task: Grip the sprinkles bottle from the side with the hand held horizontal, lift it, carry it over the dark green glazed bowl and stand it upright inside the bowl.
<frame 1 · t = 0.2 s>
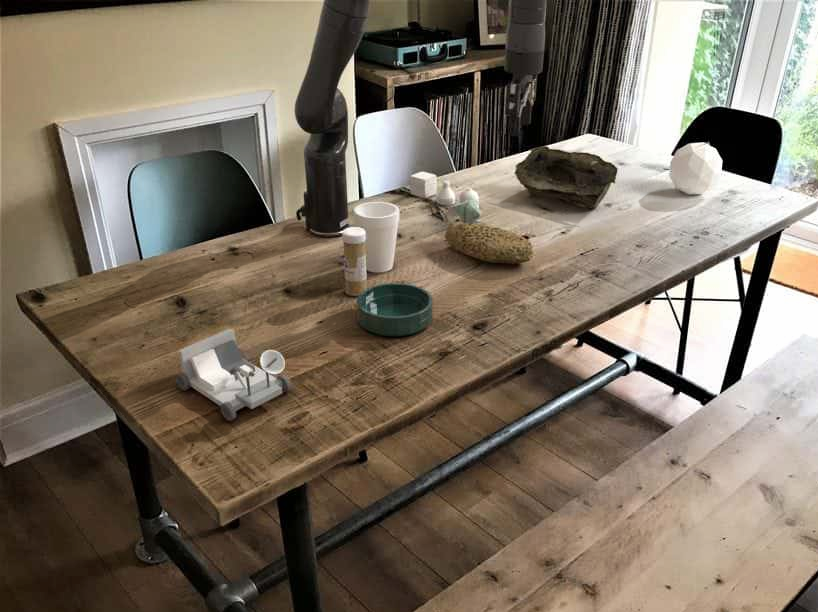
hand: (519, 129, 161), 29 cm above the table, tool pointing down, fingers open, 8 cm apart
toy car: (239, 394, 129), on the table
container set: (445, 202, 207), on the table
geodesic sphere: (691, 192, 218), on the table
mint green faceted piece: (468, 227, 192), on the table
foam cup: (378, 267, 172), on the table
hollow geode rock: (564, 203, 209), on the table
sprinkles bottle: (356, 293, 161), on the table
bowl: (395, 320, 151), on the table
sponge: (489, 257, 177), on the table
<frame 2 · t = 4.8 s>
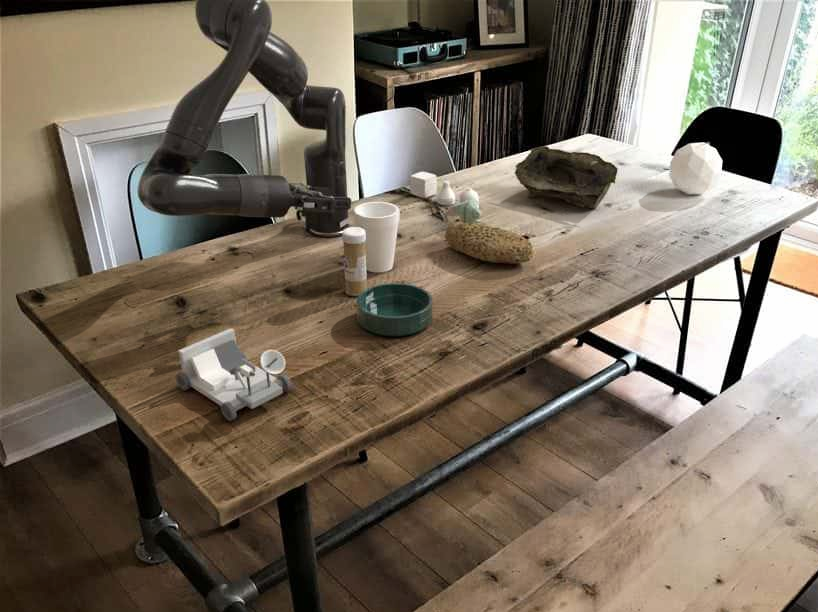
hand: (339, 198, 150), 20 cm above the table, tool horizontal, fingers open, 8 cm apart
nothing on the table moved.
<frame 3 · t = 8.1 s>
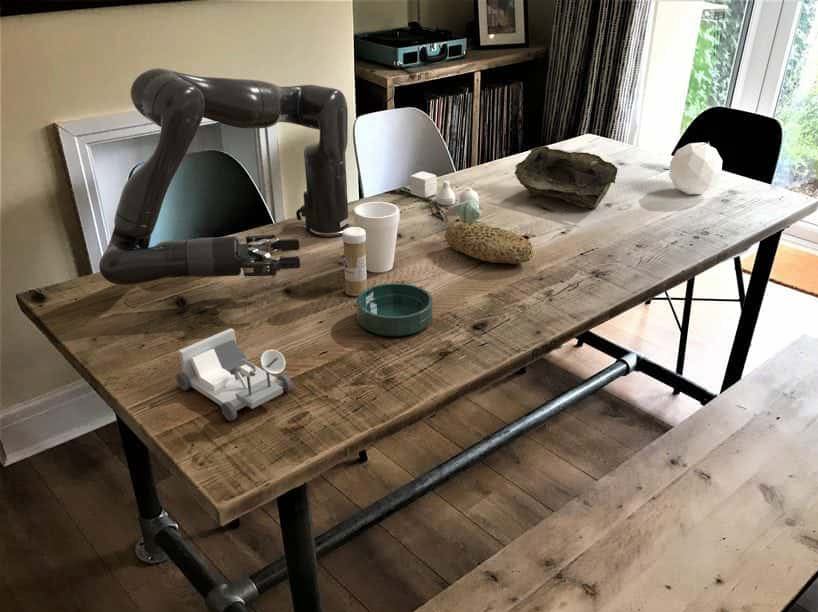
hand: (299, 253, 154), 9 cm above the table, tool horizontal, fingers open, 8 cm apart
nothing on the table moved.
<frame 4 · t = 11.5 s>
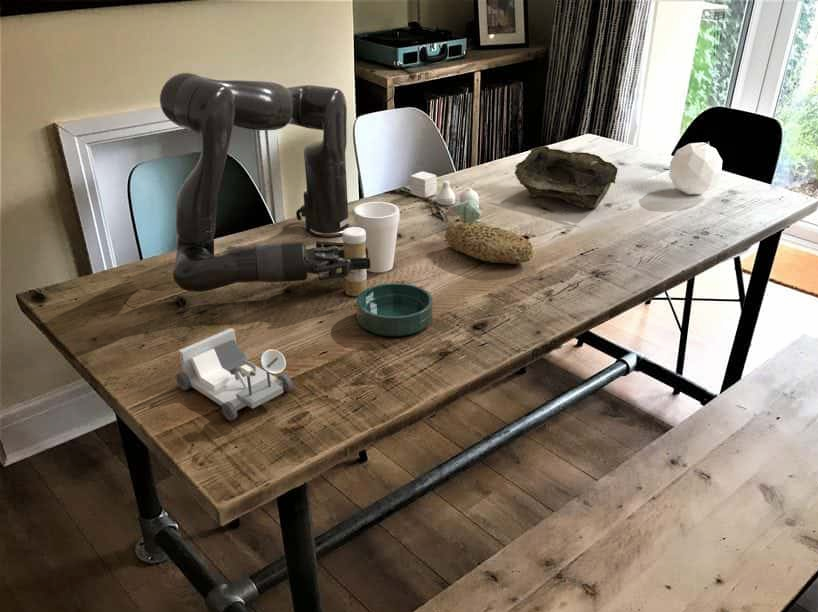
hand: (368, 257, 157), 8 cm above the table, tool horizontal, fingers closed on sprinkles bottle, 4 cm apart
sprinkles bottle: (356, 293, 161), on the table, touching gripper
everything else where it was.
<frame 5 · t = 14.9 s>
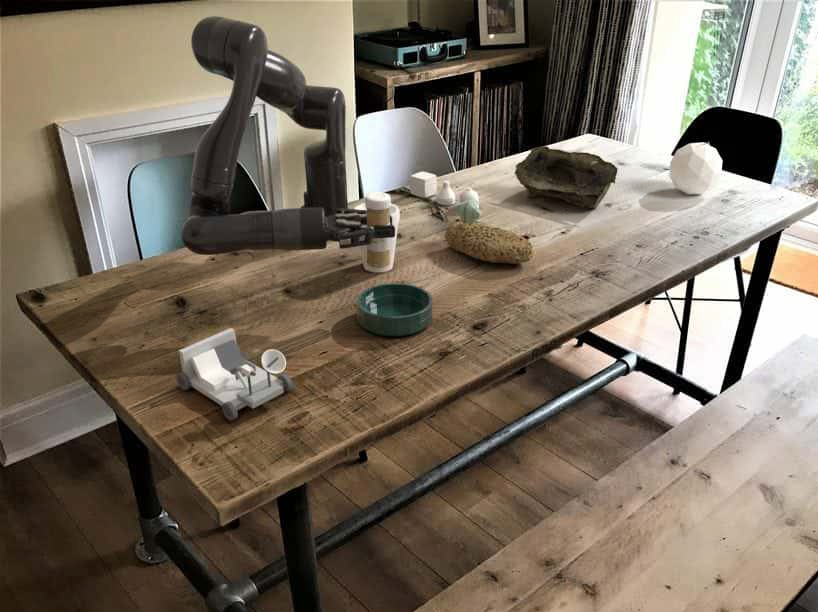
hand: (392, 225, 145), 18 cm above the table, tool horizontal, fingers closed on sprinkles bottle, 4 cm apart
sprinkles bottle: (378, 264, 149), point 10 cm above the table, touching gripper
everything else where it was.
when the fingers open (8 cm above the table, at t = 18.6 s): sprinkles bottle stays where it is, resting on bowl.
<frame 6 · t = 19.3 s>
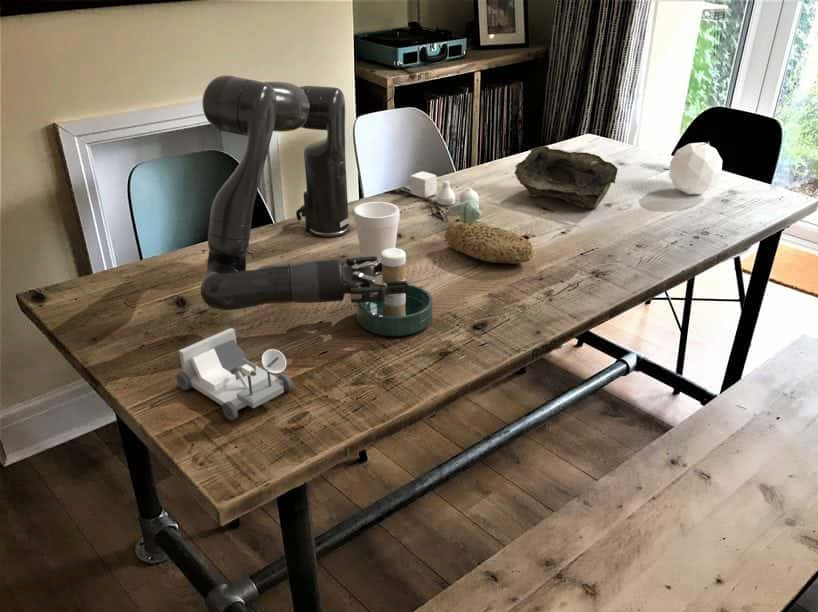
hand: (404, 276, 147), 9 cm above the table, tool horizontal, fingers open, 8 cm apart
sprinkles bottle: (394, 317, 151), point 1 cm above the table, touching bowl
everything else where it was.
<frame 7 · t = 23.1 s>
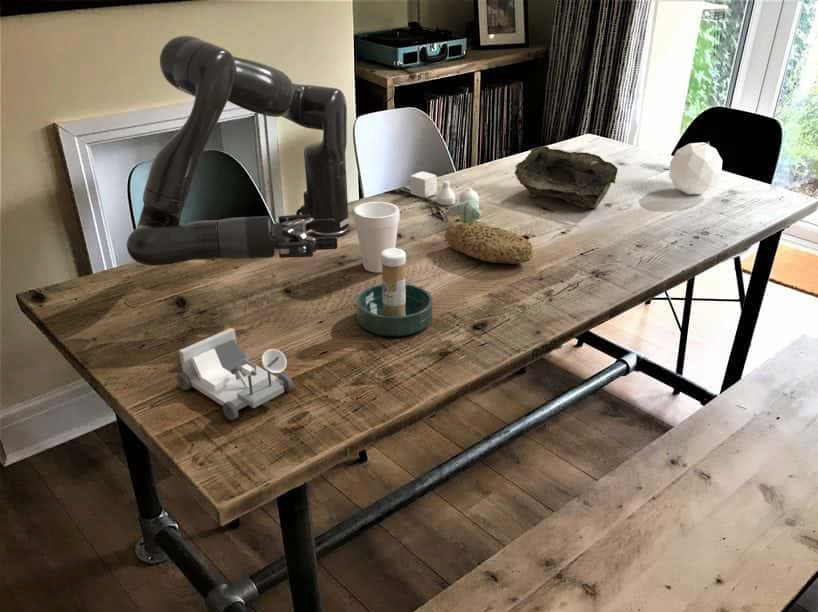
hand: (336, 233, 146), 16 cm above the table, tool horizontal, fingers open, 8 cm apart
nothing on the table moved.
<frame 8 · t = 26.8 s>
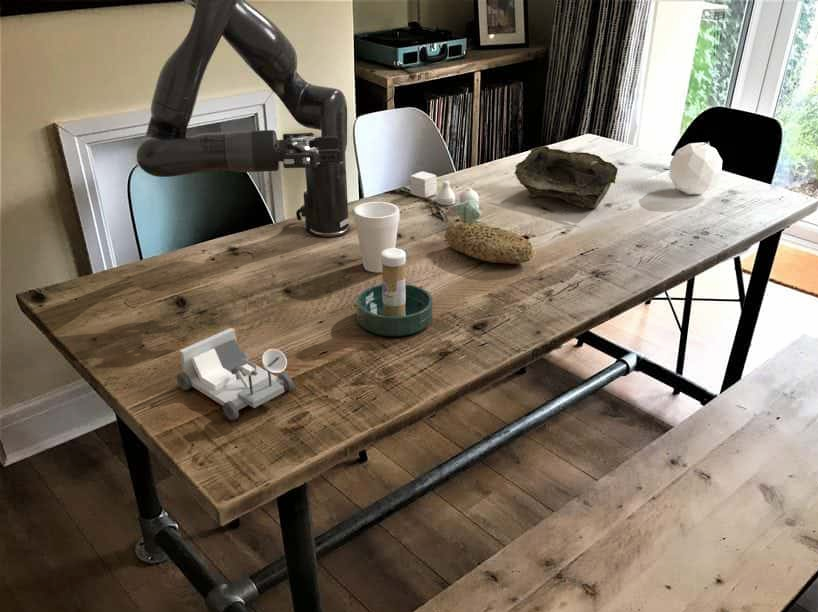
hand: (338, 148, 151), 28 cm above the table, tool horizontal, fingers open, 8 cm apart
nothing on the table moved.
at the end: sprinkles bottle inside the target area in the bowl (0.1 cm from its centre), point 0.6 cm above the bowl's base; sprinkles bottle tilted 0° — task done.
